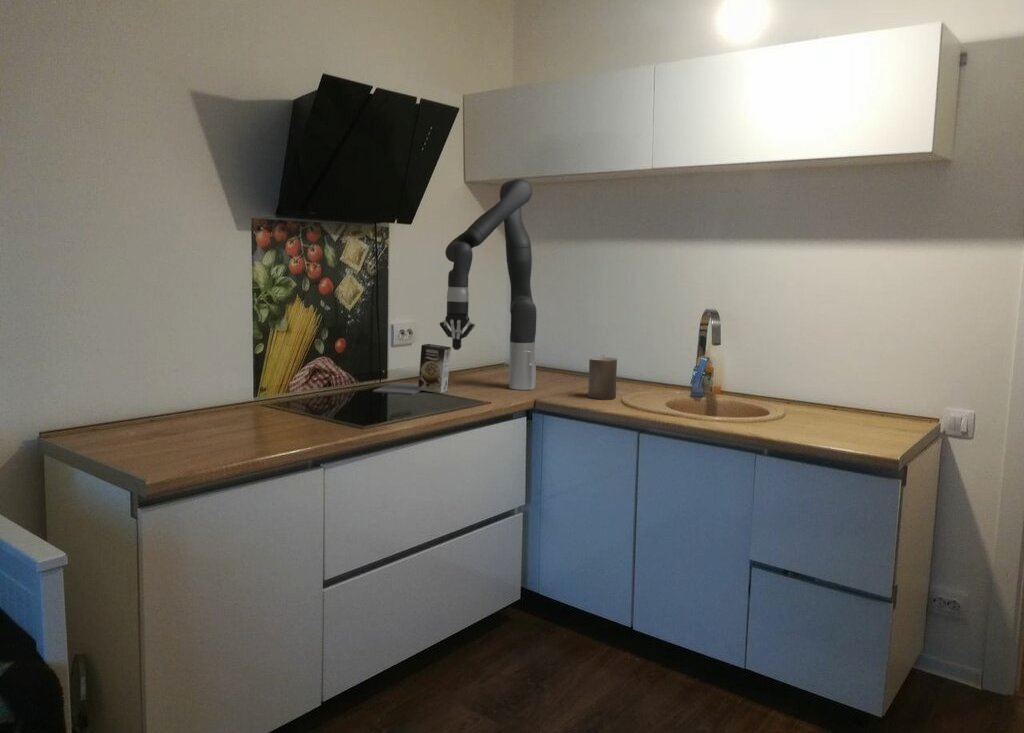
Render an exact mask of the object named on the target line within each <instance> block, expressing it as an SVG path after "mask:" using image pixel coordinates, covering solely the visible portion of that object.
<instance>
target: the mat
mask: <svg viewBox="0 0 1024 733" xmlns="http://www.w3.org/2000/svg"><path fill="white" fill-rule="evenodd" d="M418 384H419V383H406V382H404V383H403V382H392V383H388V384H386V385H383V386H380V387H379V388H376V389H373V390H372V393H381V394H383V393H384V394H396V395H397V394H399V395H412V396H413V395H416V394H417V393H420V392H424V390H418Z"/></svg>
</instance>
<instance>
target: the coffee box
mask: <svg viewBox="0 0 1024 733" xmlns="http://www.w3.org/2000/svg"><path fill="white" fill-rule="evenodd" d="M420 349H421V350H420V361H419V374H418V383H417V384H418V390H423V392H429V393H430V392H432V393H438V394H442V393H445V392H447V391H448V383H449V382H448V381H449V373H450V372H449V371H450V359H451V351H452V347H451V346H445V345H438V344H432V343H424V344H422V345H421V348H420Z"/></svg>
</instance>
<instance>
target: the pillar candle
mask: <svg viewBox="0 0 1024 733" xmlns="http://www.w3.org/2000/svg"><path fill="white" fill-rule="evenodd" d="M604 356H605V355H604V354H603V355H602V356H600V357H598V356H597V357H596V356H595V357H589V358H588V359H589V361H588V390H587V391H588V392H587V397H588V398H589V399H597V400H605V401H606V400H607V401H608V400H614V399H617V398H616V397H617V371H618V370H617V369H618V368H617V367H618V359H617V358H616V357H609V356H608V357H606V356H605V357H604Z"/></svg>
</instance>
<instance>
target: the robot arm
mask: <svg viewBox="0 0 1024 733" xmlns="http://www.w3.org/2000/svg"><path fill="white" fill-rule="evenodd" d="M532 195H533V188H532V185H531V183H530V182H529V181H527V180H526V179H523V178H515V179H512V180H508V181H506V182H504V183H503V184H502V185H501V187H500V190H499V201H498V202H497V203H496V204H494V205H493V206H491V208H490V209H488V210H487V211H485V212H484V213H483V214H481V215H480V216H479V217H477V219H475V221H474V222H473V223H472V224H470V226H469V227H468V228H467V229H466V230H465V231H464V232H462V233H461V234H459V235H457V236H456V237H455V238H454V239H453V240H452V241H451V242H450V243H448V244H447V246H446V247H445V257H446V259H447V261H449V262H452V263H453V267H452V269H451V270H449V272H448V277H447V291H446V292H447V293H446V316H445V319H444V320H443V321H442V322H439V326H440V328H441V329H442V330H443V332H444V333H445V335H446V336H447V337H448V338H451V339H452V347H451V348H453V350H454V351H455V350H456V351H459V350H460V349H461V348H462V340H463V339H464V338H467V337H468V336H469V334H470V333H471V332H472V331H473V329H474V328H475V327H476V324H475V323H472V322H471V320H470V317H469V296H470V294H469V275H470V271H471V267H472V263H473V248H476V247H478V246H481V244H483V243H484V242H485V240H487V239H488V237H490V236H491V234H492V233H493V232H494V231H495V230H496V229H497V228H499V226H500V225H501V224H502V223H503V226H504V240H505V254H506V264H507V272H508V276H509V282H510V306H509V312H510V313H509V314H510V331H509V365H508V366H509V370H508V371H509V372H508V374H509V375H508V388H509V389H510V390H511V389H512V390H518V391H527V390H529V391H530V390H531V391H532V390H534V389H535V388H536V379H537V378H536V375H537V372H536V371H537V370H536V369H537V362H536V361H535V356H536V354H535V352H536V335H537V307H536V304H535V303H534V301H533V297H532V286H531V276H532V269H533V268H532V267H533V265H532V264H533V263H532V262H533V258H532V257H533V255H532V254H533V252H532V242H531V239H530V236H529V234H528V232H527V230H526V228H525V225H524V223H523V222H524V221H523V218H522V207H523V206H524V205H526V204H527V203H529V201H530V200H531V198H532ZM449 327H450V328H449ZM464 329H465V330H464Z"/></svg>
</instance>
